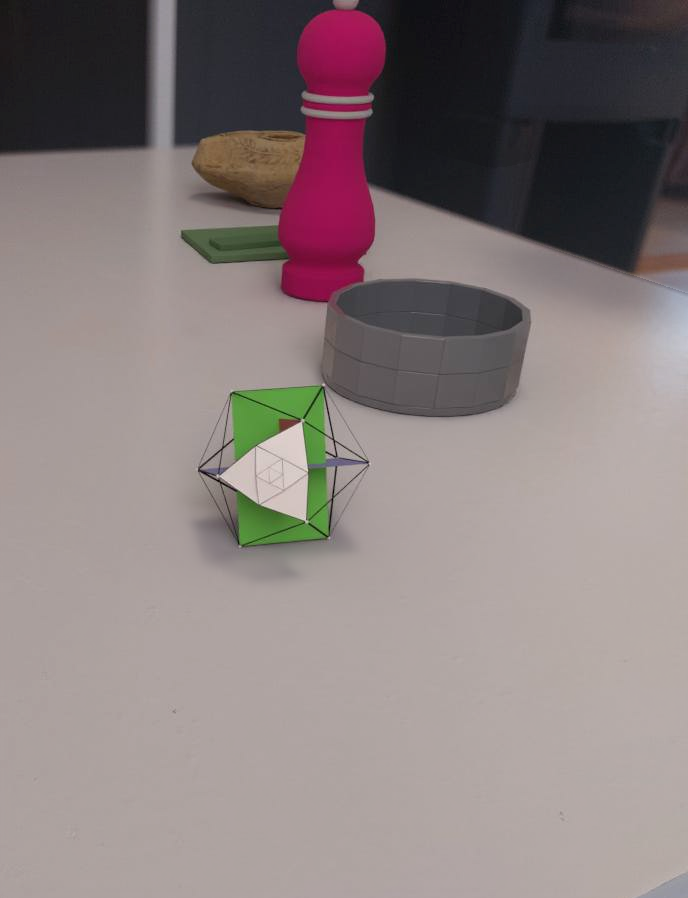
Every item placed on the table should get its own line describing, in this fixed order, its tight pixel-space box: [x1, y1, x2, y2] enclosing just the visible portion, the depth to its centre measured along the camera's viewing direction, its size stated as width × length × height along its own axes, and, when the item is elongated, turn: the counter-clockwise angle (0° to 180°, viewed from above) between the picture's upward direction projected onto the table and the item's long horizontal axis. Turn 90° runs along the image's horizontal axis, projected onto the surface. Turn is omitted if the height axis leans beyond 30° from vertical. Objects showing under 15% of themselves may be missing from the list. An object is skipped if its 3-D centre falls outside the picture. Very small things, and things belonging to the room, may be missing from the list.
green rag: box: [180, 224, 367, 264], centre depth 90 cm, size 14×9×1 cm, turn 107°
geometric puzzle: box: [195, 383, 373, 549], centre depth 45 cm, size 7×7×8 cm
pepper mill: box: [277, 0, 387, 302], centre depth 73 cm, size 7×7×20 cm
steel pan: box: [321, 277, 532, 417], centre depth 62 cm, size 12×12×4 cm
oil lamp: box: [191, 130, 306, 209], centre depth 102 cm, size 11×15×8 cm
